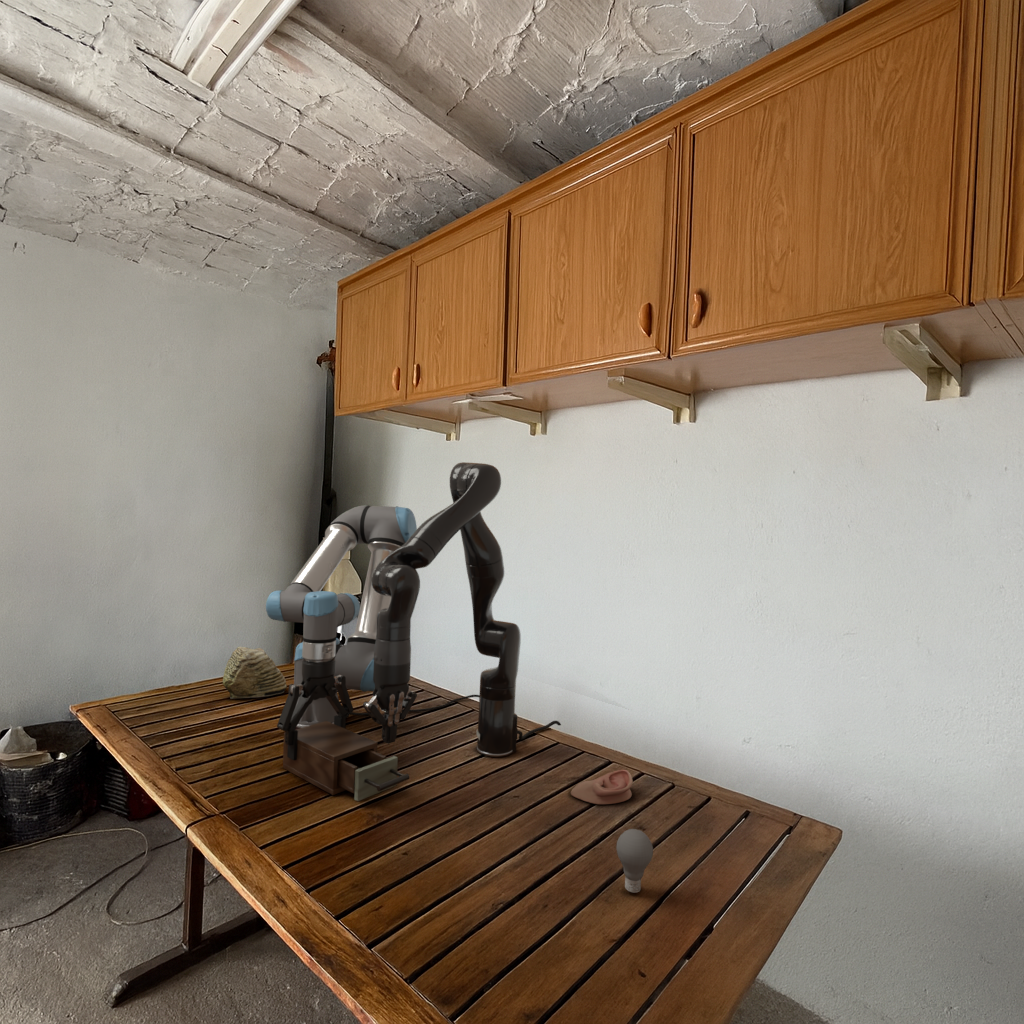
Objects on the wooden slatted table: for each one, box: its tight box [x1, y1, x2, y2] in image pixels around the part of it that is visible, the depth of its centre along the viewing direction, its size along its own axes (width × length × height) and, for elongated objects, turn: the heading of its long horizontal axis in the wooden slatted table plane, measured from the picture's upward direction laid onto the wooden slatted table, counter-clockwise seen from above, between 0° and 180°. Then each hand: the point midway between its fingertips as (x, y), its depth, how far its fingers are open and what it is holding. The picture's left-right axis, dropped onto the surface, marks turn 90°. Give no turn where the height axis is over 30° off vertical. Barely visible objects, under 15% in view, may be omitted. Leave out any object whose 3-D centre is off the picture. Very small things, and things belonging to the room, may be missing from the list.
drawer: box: [337, 750, 410, 802], centre depth 138 cm, size 24×10×6 cm, turn 50°
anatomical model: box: [570, 769, 634, 805], centre depth 141 cm, size 13×4×12 cm
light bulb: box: [615, 828, 654, 894], centre depth 106 cm, size 6×6×10 cm
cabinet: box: [282, 721, 378, 796], centre depth 145 cm, size 20×12×8 cm, turn 50°
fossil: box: [222, 646, 288, 699], centre depth 198 cm, size 9×18×15 cm, turn 132°
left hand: (315, 750), depth 148 cm, fingers closed on cabinet, 11 cm apart
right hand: (389, 741), depth 132 cm, fingers closed
